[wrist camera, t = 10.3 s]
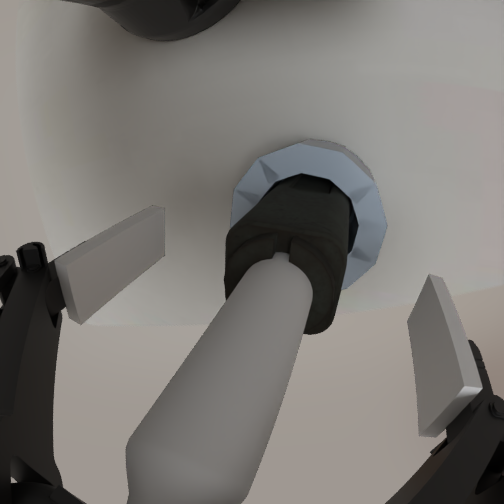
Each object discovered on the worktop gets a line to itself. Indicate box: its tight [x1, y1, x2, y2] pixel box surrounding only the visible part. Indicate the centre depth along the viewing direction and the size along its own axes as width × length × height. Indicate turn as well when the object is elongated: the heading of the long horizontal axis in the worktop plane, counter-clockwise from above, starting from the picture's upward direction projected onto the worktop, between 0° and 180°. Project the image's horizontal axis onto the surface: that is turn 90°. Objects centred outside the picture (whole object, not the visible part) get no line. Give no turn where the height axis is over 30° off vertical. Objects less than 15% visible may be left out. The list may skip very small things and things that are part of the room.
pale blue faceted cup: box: [230, 139, 387, 290], centre depth 22 cm, size 10×10×8 cm
